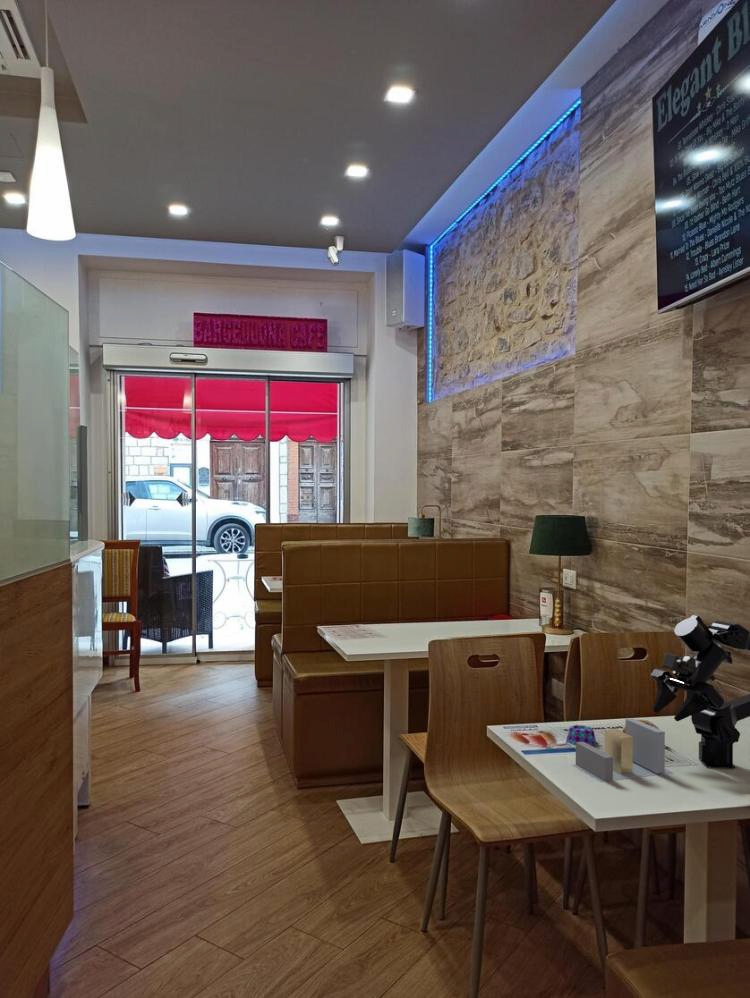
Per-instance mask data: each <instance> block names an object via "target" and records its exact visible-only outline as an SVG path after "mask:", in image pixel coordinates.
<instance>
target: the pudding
mask: <svg viewBox="0 0 750 998" xmlns="http://www.w3.org/2000/svg"><path fill="white" fill-rule="evenodd" d="M576 742H585V743H587V744H589V745H590V746H592V747H594V745H597V738H596V735H595V731H594V729H593V728H592V727H590V726H588V725H583V724H582V725H580V724H574V725H571V726H570V727H569V728H568V732H567V736H566V738H564V739H560V740H558V741H557V742H556V744H557V745H559V744H561V745H562V744H570V745H573V746H576Z"/></svg>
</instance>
